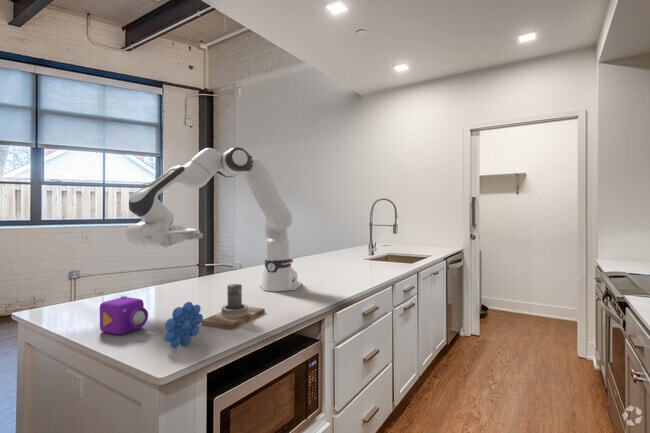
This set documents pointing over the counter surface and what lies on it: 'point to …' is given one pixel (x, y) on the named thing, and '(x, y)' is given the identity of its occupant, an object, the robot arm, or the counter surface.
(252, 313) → the mount
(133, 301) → the toy camera
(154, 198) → the robot arm
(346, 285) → the counter surface
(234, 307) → the grey rounded cylinder
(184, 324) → the blue lumpy cluster
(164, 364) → the counter surface
